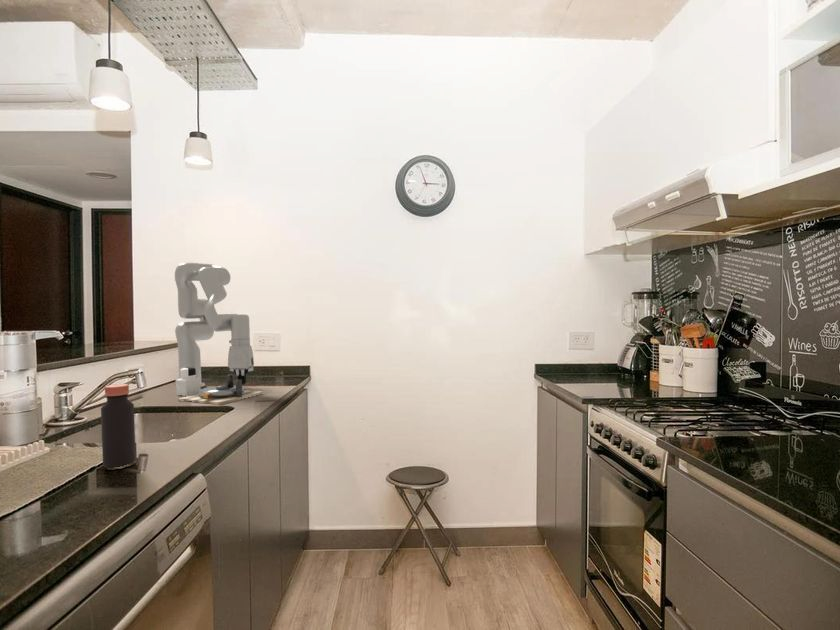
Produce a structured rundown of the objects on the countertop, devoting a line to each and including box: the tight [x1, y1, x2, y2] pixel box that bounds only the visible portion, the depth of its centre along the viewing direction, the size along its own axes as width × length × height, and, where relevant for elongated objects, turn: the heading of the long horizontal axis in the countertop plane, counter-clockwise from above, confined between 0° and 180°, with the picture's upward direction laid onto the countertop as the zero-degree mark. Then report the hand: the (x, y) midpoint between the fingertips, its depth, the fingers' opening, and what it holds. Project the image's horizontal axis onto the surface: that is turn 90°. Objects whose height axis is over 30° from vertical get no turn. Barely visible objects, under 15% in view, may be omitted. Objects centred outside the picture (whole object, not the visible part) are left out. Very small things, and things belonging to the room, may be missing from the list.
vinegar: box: [100, 383, 137, 468], centre depth 116 cm, size 7×7×20 cm
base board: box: [177, 379, 265, 406], centre depth 201 cm, size 24×24×8 cm
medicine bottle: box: [175, 367, 202, 397], centre depth 208 cm, size 7×7×12 cm
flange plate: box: [199, 374, 246, 398], centre depth 200 cm, size 18×20×6 cm
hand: (241, 384), depth 206 cm, fingers closed
